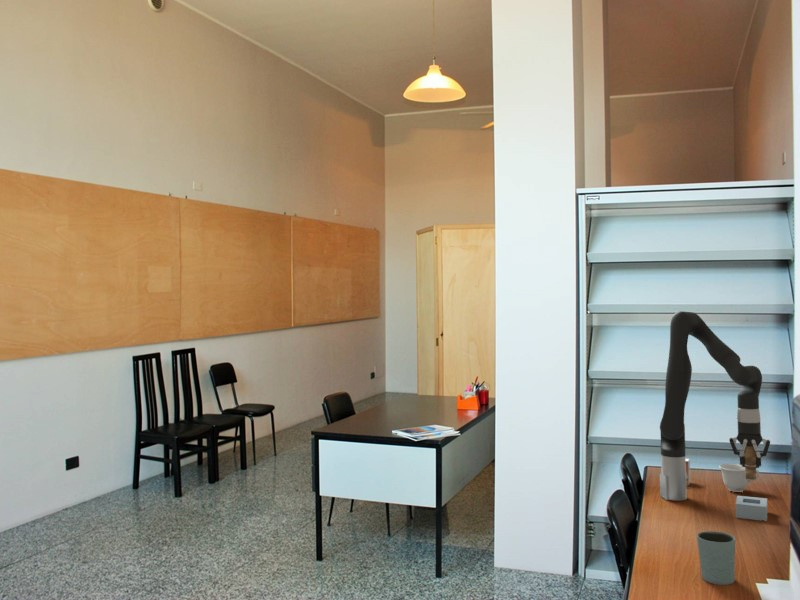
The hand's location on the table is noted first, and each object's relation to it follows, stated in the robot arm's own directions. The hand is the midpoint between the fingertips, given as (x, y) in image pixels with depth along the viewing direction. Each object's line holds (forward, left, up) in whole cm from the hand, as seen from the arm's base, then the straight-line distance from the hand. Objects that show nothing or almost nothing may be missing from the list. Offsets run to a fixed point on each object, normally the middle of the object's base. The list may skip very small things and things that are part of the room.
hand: (750, 466), depth 255 cm
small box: (-6, +47, -18) cm, 51 cm away
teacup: (+12, +31, -18) cm, 38 cm away
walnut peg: (0, 0, -4) cm, 4 cm away
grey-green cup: (-41, -56, -18) cm, 72 cm away
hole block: (0, 0, -18) cm, 18 cm away
